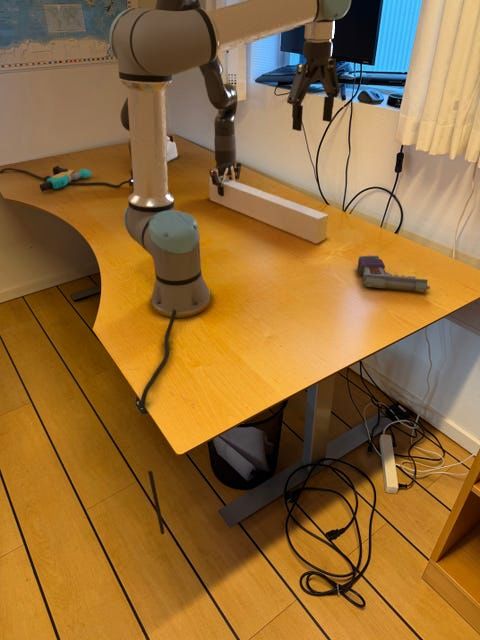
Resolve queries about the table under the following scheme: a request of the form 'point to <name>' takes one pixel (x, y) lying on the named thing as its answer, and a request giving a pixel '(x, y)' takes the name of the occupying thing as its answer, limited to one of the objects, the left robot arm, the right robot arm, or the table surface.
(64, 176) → the toy gun
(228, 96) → the left robot arm
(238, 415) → the table surface
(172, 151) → the sneaker
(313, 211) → the bar
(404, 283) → the toy gun
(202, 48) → the right robot arm
